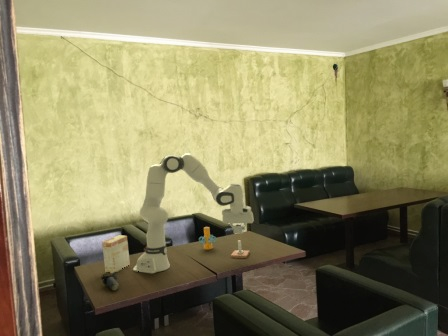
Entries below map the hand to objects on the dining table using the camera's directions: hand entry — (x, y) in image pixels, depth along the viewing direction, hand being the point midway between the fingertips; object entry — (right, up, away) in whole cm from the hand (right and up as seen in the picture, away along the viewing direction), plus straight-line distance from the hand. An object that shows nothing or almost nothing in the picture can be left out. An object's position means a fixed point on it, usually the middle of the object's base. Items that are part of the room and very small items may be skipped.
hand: (238, 229), depth 238 cm
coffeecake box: (-76, -24, -7) cm, 80 cm away
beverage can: (-71, -26, -35) cm, 83 cm away
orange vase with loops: (-21, -17, +20) cm, 33 cm away
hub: (0, -2, 0) cm, 2 cm away
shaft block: (+1, -17, +2) cm, 17 cm away
